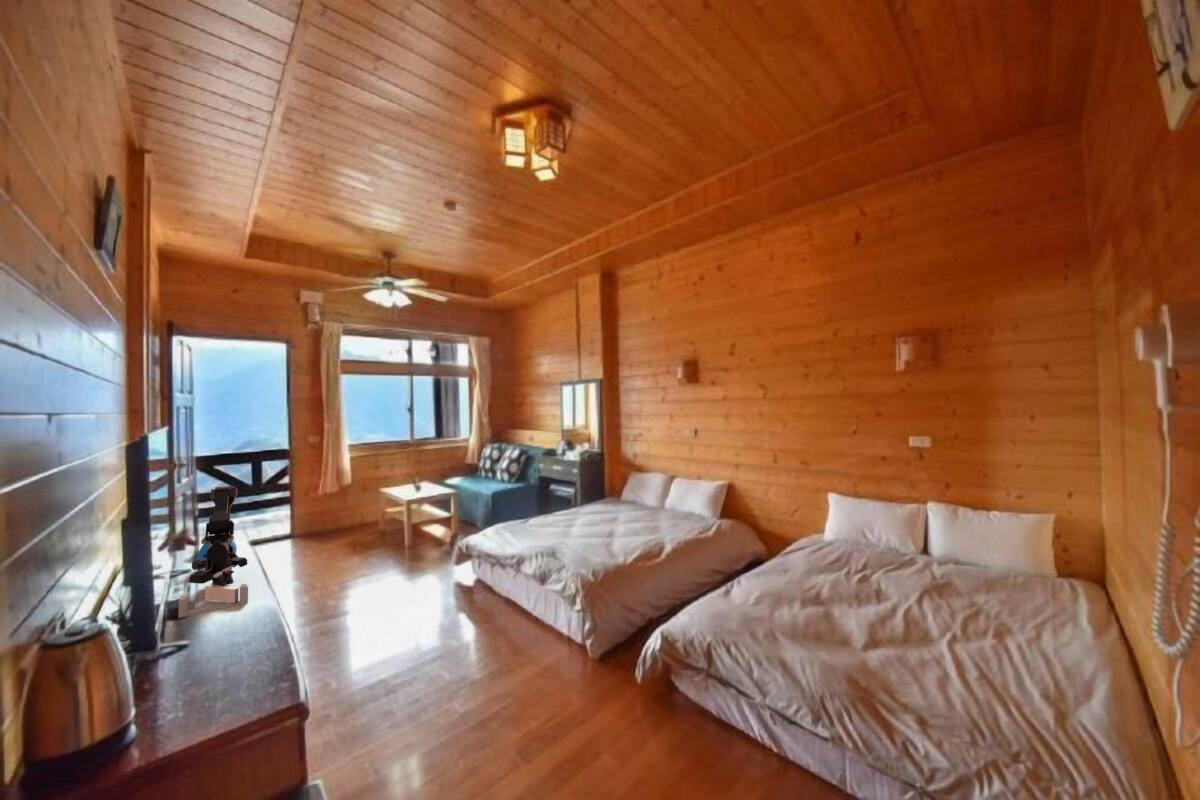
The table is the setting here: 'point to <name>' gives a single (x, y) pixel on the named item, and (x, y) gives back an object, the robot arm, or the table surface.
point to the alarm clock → (203, 551)
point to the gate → (221, 593)
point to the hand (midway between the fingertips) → (220, 591)
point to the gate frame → (188, 606)
